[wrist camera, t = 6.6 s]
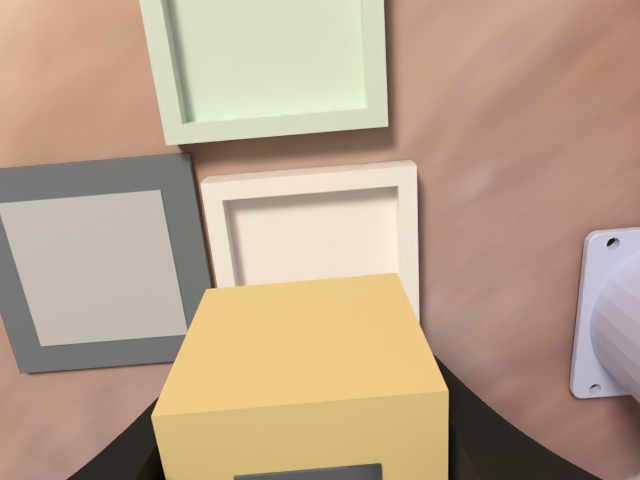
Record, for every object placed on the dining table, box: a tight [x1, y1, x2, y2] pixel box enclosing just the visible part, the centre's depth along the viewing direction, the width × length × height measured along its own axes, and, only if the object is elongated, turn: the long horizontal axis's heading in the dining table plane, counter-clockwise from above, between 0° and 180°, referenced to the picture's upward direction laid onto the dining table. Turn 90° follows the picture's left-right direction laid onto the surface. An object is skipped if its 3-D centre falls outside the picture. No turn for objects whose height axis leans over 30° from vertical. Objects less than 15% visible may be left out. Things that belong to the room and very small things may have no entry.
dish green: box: [139, 0, 388, 145], centre depth 17 cm, size 8×8×1 cm
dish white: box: [201, 160, 419, 322], centre depth 20 cm, size 8×8×1 cm
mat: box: [0, 152, 213, 374], centre depth 21 cm, size 9×9×1 cm
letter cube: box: [151, 273, 449, 480], centre depth 12 cm, size 5×5×5 cm
